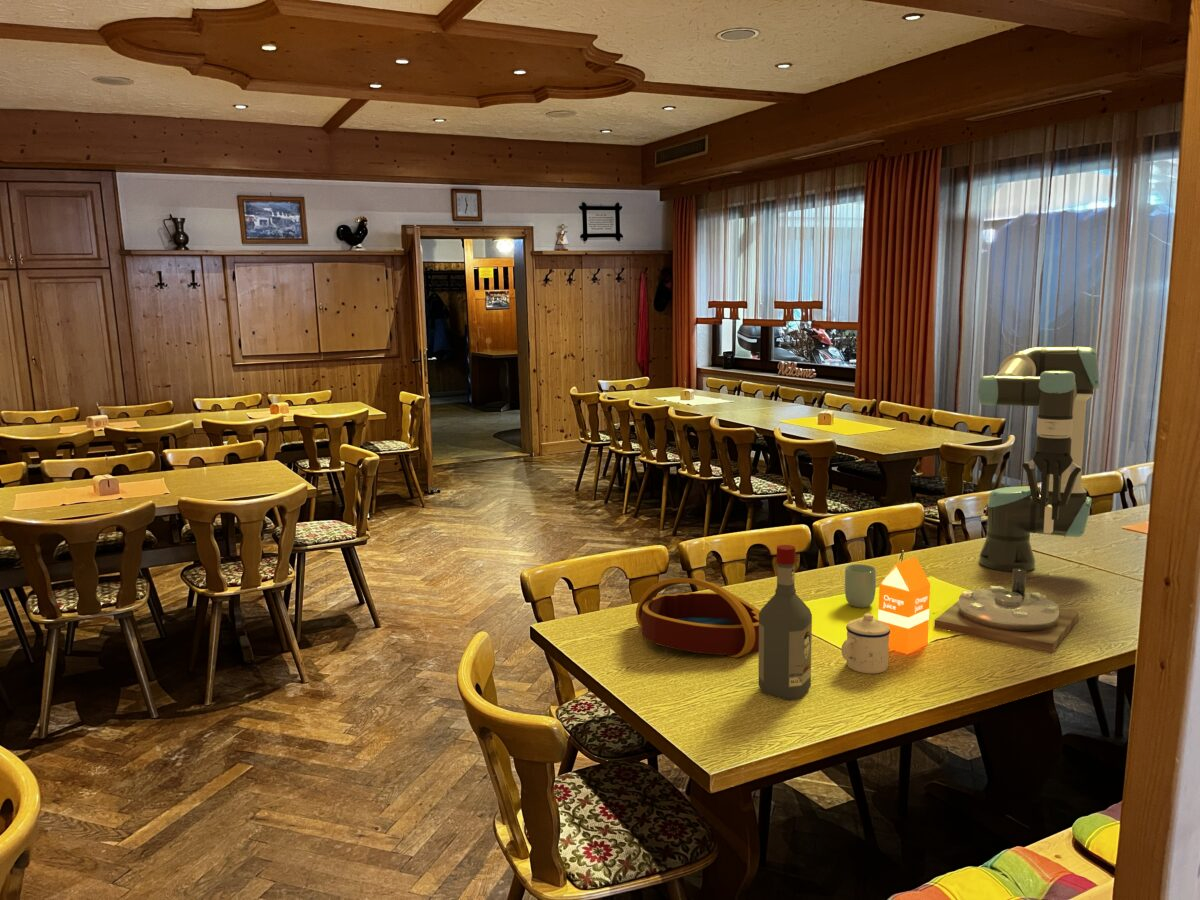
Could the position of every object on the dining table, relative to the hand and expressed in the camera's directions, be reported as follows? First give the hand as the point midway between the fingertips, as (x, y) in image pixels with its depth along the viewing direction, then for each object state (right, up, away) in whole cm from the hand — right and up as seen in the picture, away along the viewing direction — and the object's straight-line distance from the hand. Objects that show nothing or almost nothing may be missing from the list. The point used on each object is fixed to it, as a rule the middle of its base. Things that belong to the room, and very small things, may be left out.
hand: (1048, 532), depth 211 cm
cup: (-41, -21, +16) cm, 49 cm away
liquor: (-71, -29, -34) cm, 84 cm away
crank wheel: (-10, -20, 0) cm, 22 cm away
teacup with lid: (-52, -27, -24) cm, 63 cm away
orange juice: (-39, -25, -11) cm, 48 cm away
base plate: (-10, -22, 0) cm, 24 cm away
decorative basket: (-86, -25, -5) cm, 90 cm away
